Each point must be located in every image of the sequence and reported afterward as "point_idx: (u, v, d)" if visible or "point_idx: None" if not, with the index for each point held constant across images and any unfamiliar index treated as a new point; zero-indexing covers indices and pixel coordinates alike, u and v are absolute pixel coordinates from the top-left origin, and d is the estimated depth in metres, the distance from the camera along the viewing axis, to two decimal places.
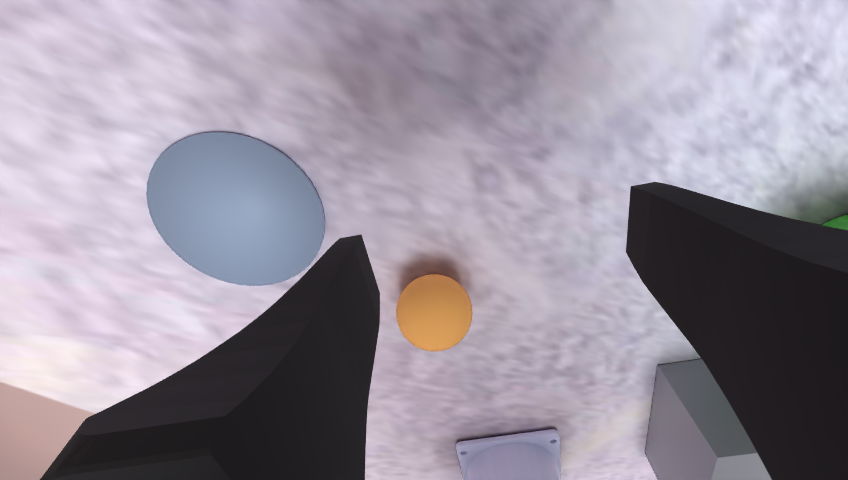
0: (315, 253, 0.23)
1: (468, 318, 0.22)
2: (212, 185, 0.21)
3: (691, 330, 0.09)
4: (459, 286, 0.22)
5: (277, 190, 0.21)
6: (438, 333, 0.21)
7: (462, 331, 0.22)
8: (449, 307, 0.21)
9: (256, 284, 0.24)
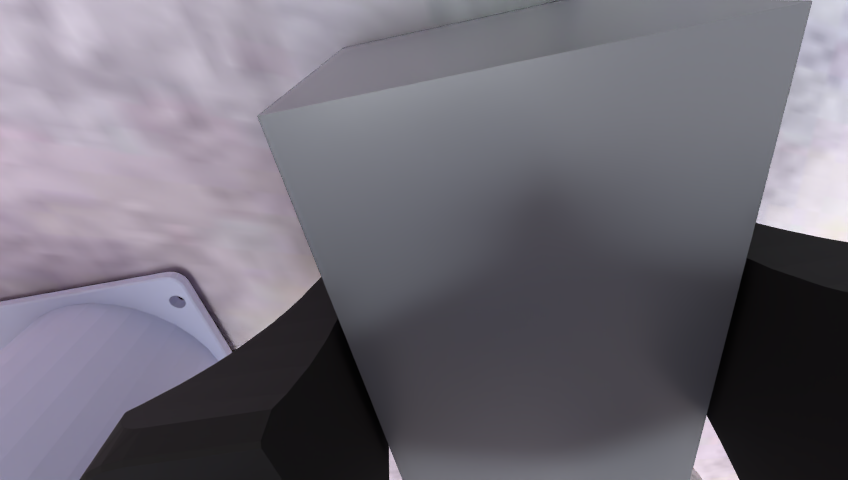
0: None
1: None
2: None
3: None
4: None
5: None
6: None
7: None
8: None
9: None
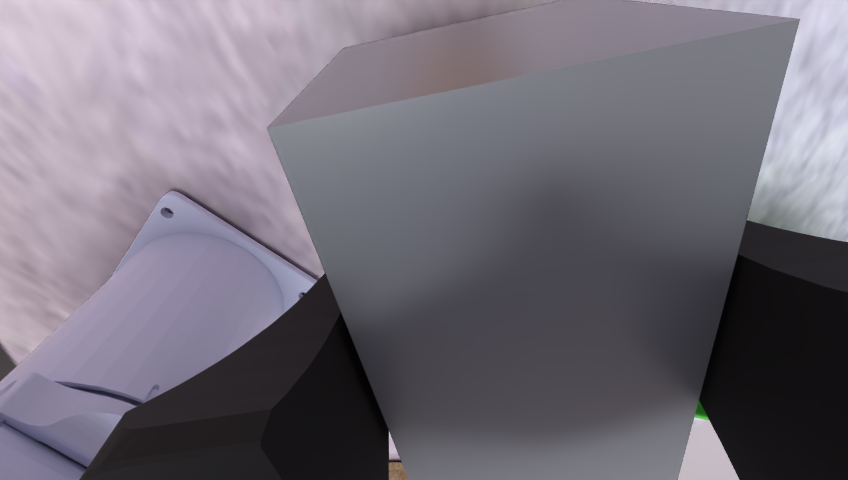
0: None
1: None
2: None
3: None
4: None
5: None
6: None
7: None
8: None
9: None
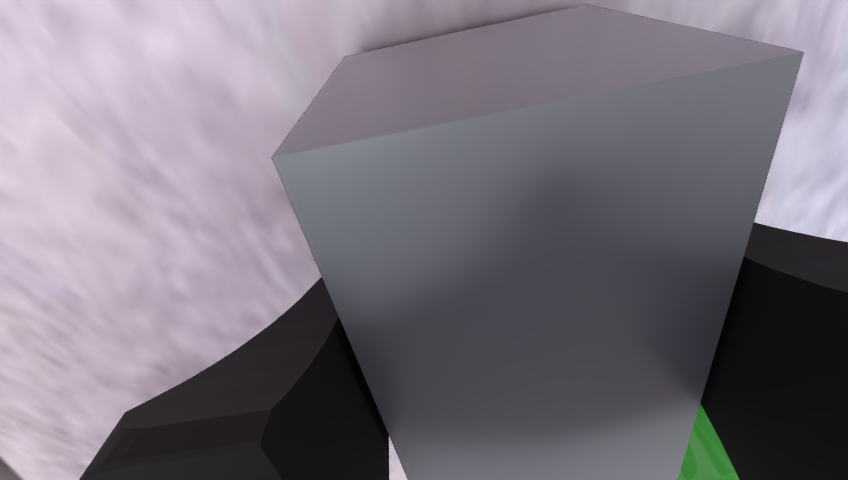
0: None
1: None
2: None
3: None
4: None
5: None
6: None
7: None
8: None
9: None
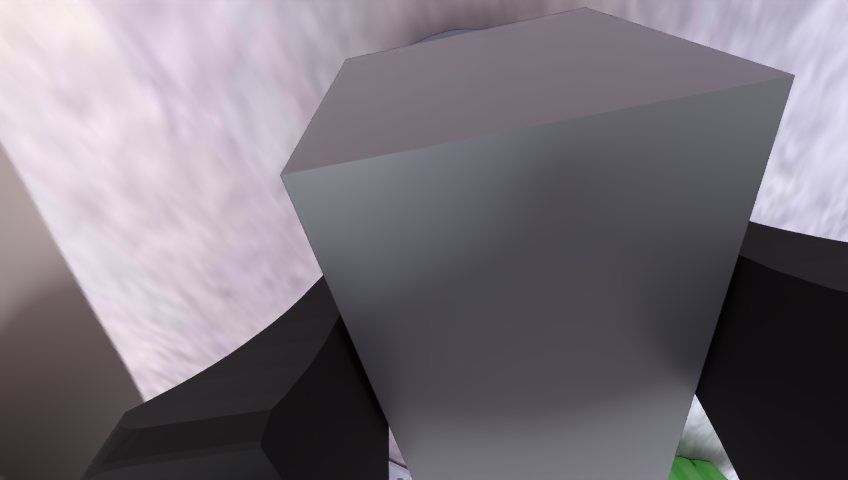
0: None
1: None
2: None
3: None
4: None
5: None
6: None
7: None
8: None
9: None
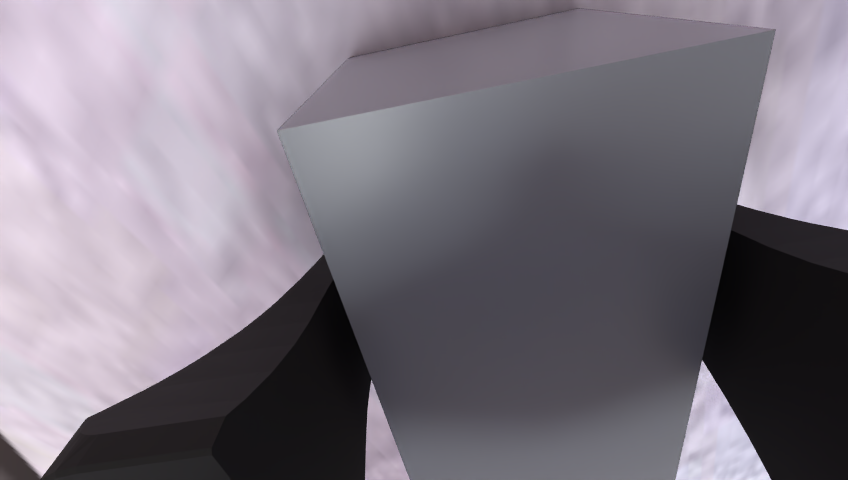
0: None
1: None
2: None
3: None
4: None
5: None
6: None
7: None
8: None
9: None
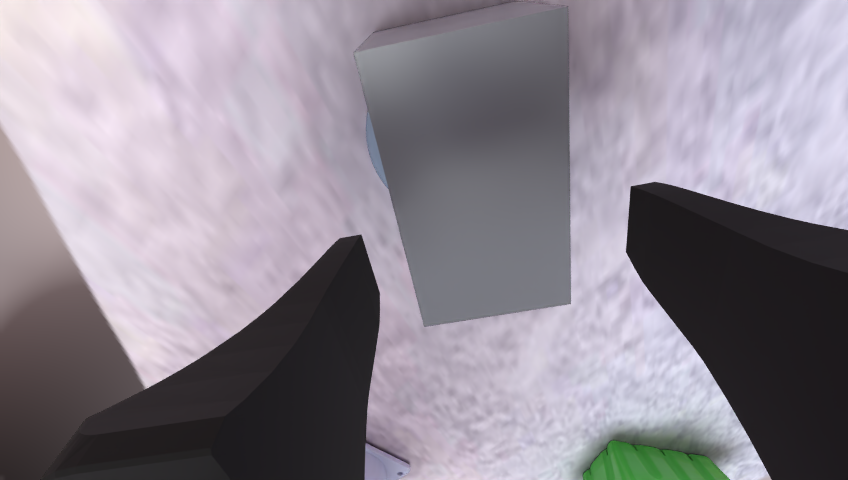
0: None
1: None
2: None
3: (691, 330, 0.09)
4: None
5: None
6: None
7: None
8: None
9: (388, 188, 0.21)
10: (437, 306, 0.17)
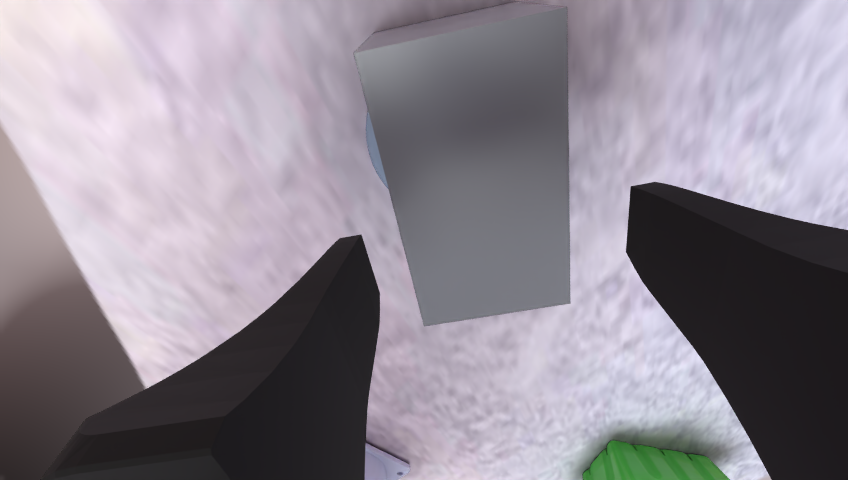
0: None
1: None
2: None
3: (691, 330, 0.09)
4: None
5: None
6: None
7: None
8: None
9: (388, 188, 0.21)
10: (437, 306, 0.17)
